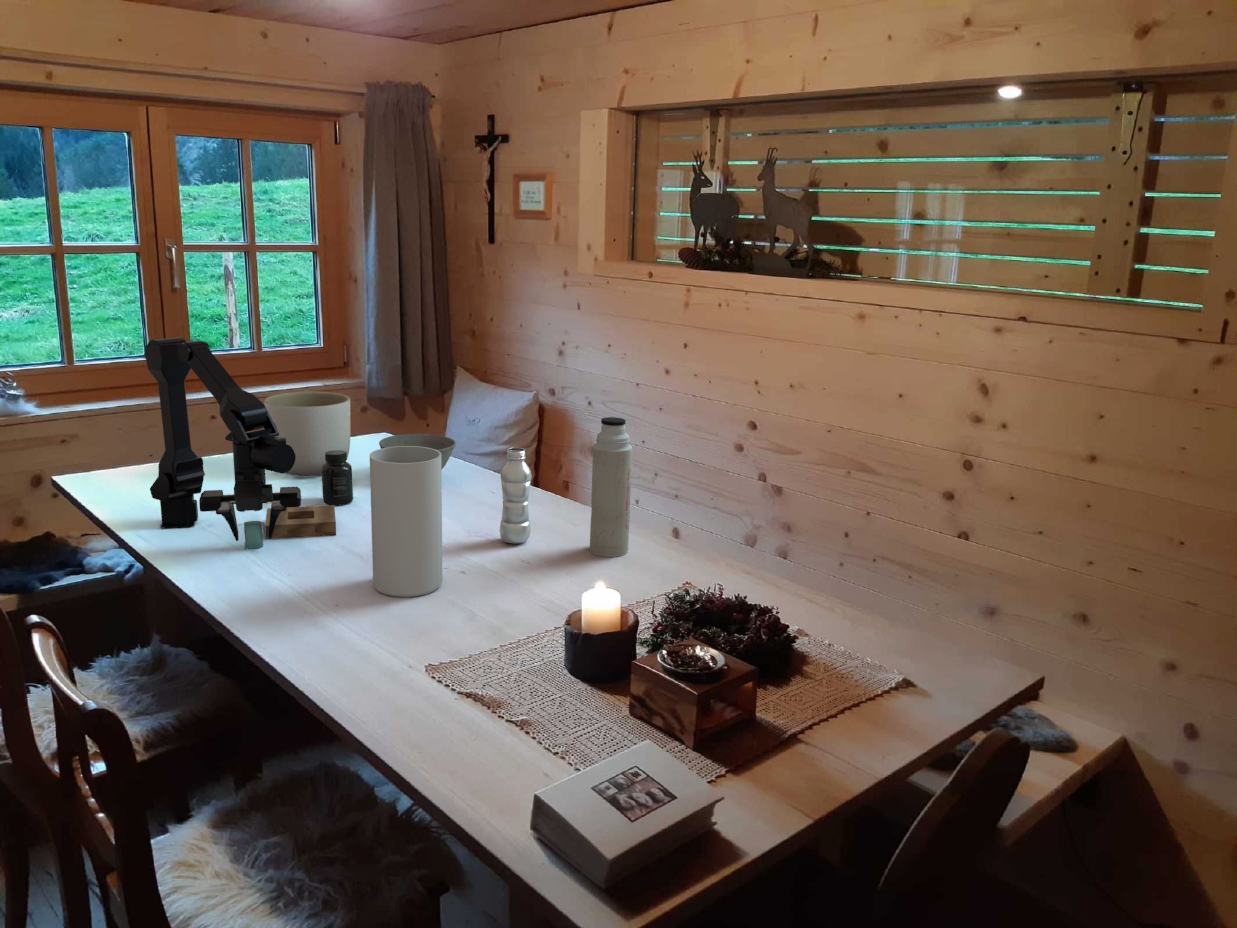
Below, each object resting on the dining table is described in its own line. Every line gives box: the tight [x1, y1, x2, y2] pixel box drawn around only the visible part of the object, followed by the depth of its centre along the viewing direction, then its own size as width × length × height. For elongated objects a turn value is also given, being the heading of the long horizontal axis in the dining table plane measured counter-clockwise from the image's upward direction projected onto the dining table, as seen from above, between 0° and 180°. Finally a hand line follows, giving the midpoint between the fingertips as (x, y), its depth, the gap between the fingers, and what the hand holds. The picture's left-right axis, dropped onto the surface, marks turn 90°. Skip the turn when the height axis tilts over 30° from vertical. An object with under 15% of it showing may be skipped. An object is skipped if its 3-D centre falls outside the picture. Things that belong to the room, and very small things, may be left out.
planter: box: [263, 390, 351, 477], centre depth 249 cm, size 21×21×19 cm
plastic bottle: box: [499, 447, 532, 544], centre depth 202 cm, size 6×7×20 cm
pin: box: [243, 520, 264, 551], centre depth 195 cm, size 3×3×5 cm
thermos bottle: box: [589, 416, 633, 558], centre depth 198 cm, size 8×8×28 cm
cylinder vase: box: [369, 446, 443, 598], centre depth 176 cm, size 12×12×25 cm
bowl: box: [378, 433, 457, 470], centre depth 246 cm, size 19×19×10 cm
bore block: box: [264, 504, 337, 540], centre depth 208 cm, size 14×12×3 cm
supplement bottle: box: [321, 450, 354, 507], centre depth 225 cm, size 7×7×12 cm
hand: (253, 539), depth 196 cm, fingers open, 6 cm apart
